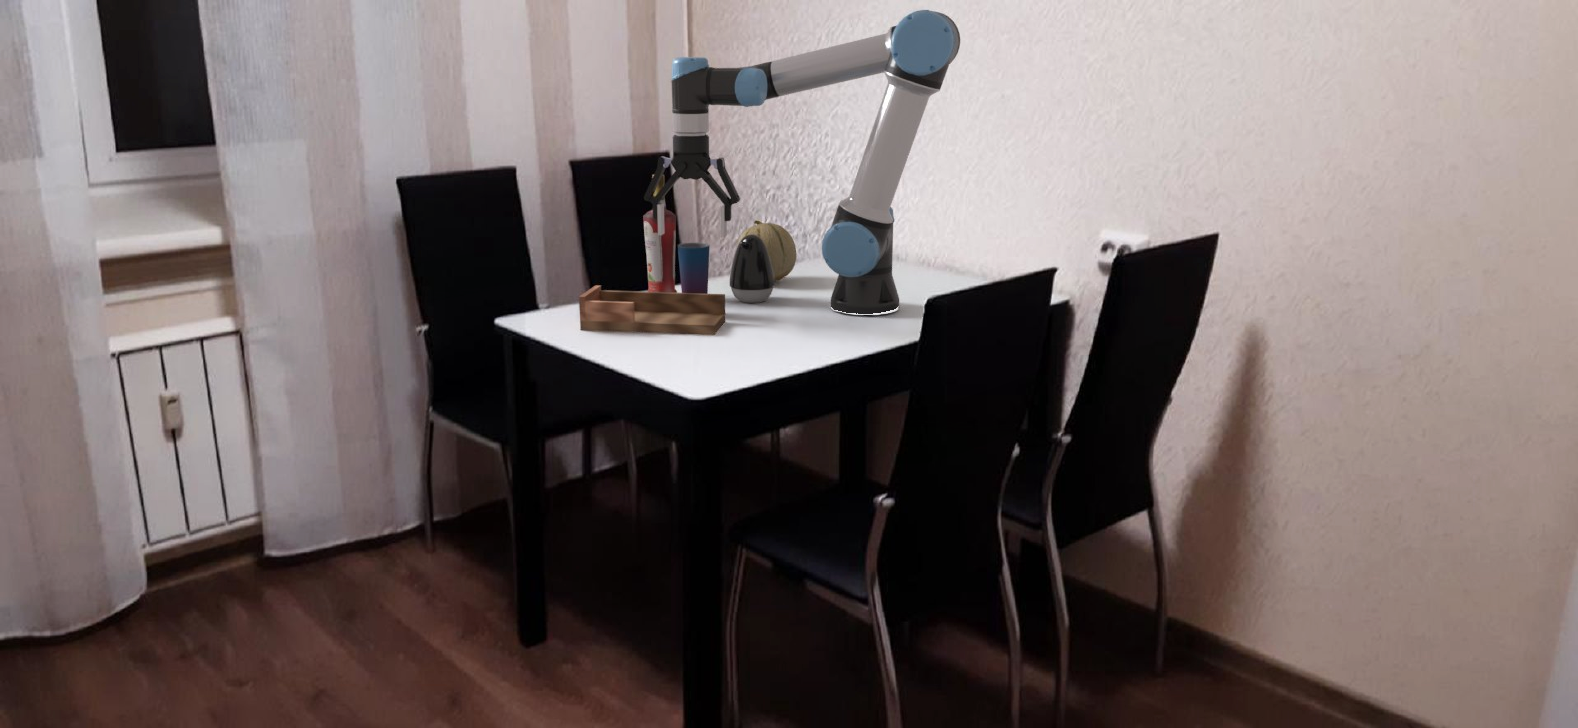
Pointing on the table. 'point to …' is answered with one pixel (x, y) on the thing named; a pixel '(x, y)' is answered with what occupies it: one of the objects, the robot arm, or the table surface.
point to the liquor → (660, 249)
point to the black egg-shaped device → (752, 271)
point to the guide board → (651, 312)
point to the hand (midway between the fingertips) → (692, 235)
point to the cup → (694, 267)
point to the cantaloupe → (776, 246)
